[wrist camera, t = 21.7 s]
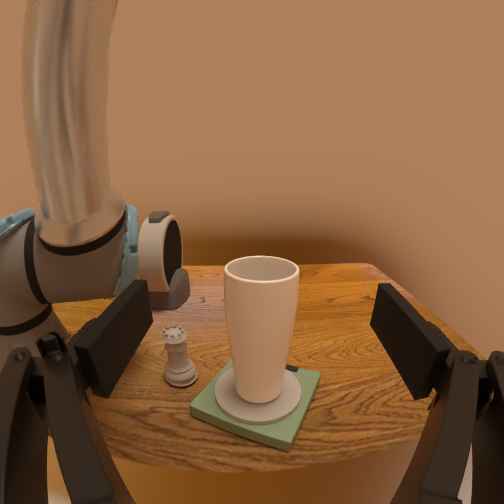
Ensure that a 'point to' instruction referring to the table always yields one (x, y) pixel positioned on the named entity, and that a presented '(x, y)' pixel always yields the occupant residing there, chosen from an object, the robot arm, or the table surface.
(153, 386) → the table surface
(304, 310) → the table surface
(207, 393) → the scale
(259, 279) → the drinking glass
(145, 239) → the alarm clock
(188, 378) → the rook chess piece
